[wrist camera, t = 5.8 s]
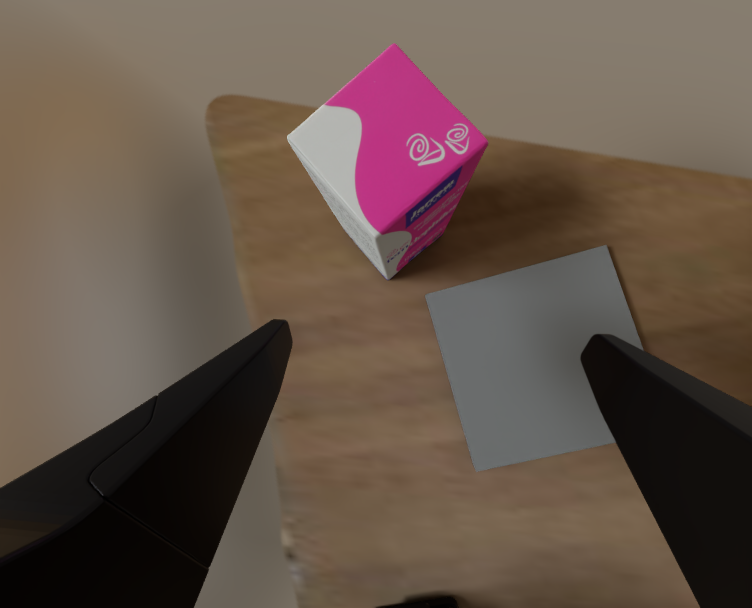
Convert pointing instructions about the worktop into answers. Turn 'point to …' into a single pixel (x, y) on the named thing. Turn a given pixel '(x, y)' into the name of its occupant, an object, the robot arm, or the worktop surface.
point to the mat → (530, 355)
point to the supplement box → (390, 159)
